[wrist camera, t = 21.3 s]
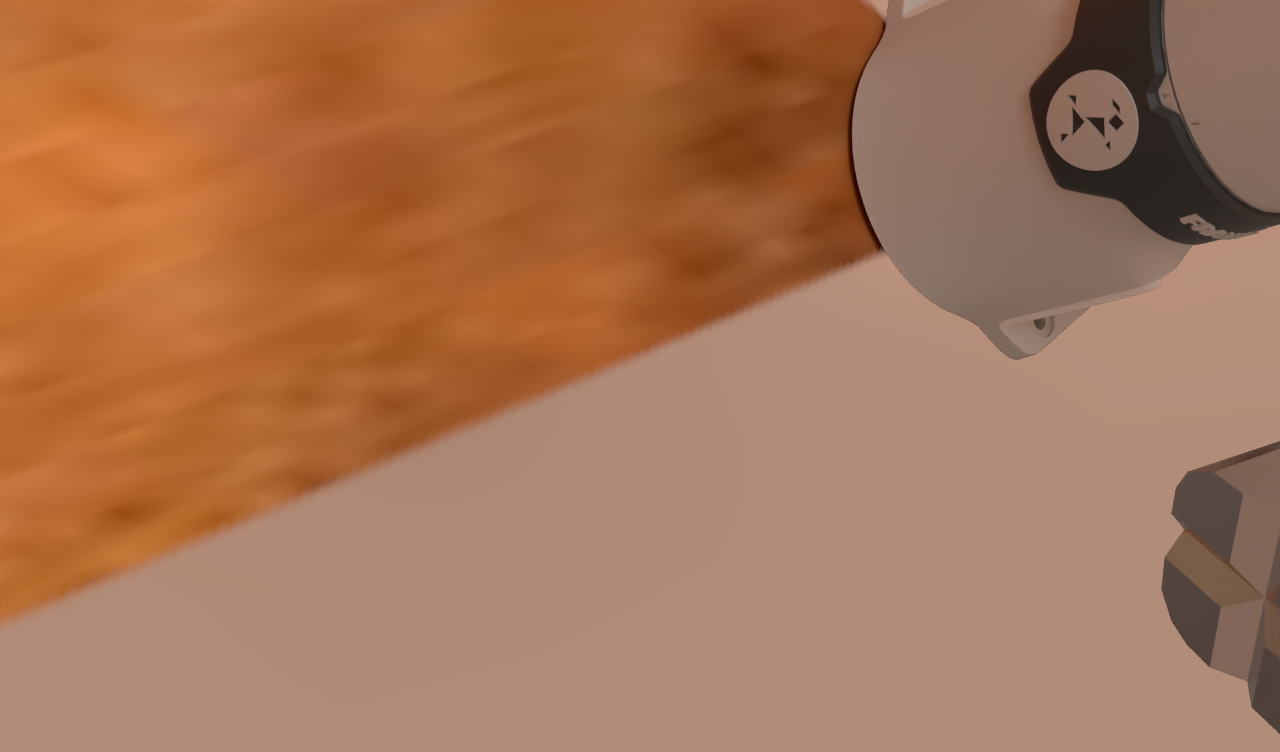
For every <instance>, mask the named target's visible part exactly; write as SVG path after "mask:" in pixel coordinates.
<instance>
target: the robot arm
mask: <svg viewBox="0 0 1280 752" xmlns="http://www.w3.org/2000/svg"><path fill="white" fill-rule="evenodd" d="M852 146H853V158H854V166H855V171H856V177H857V182H858V186H859V190H860V193H861V197H862V200H863V203H864V206H865V209H866V212H867V215H868V217H869V220H870V222H871V225H872V227H873V229H874V231H875V233H876V235H877V237H878V239H879V241H880V243H881V245H882V246H883V248H884V250H885V251H886V253H887V255H888V256H889V258H890V259H891V260H892V262H893V263H894V264H895V266H896V267H897V268H898V270H899V271H900V273H901V274H902V275H903V276H904V277H905V278H906V279H907V281H908V282H909V283H910V284H911V285H912V286H913V287H914V288H915V289H916V290H917V291H919V292H920V293H921V294H922V295H923V296H925V297H926V298H927V299H929V300H930V301H931V302H933V303H934V304H936V305H938V306H939V307H941V308H943V309H945V310H946V311H949V312H951V313H953V314H956V315H958V316H960V317H962V318H965V319H967V320H969V321H971V322H972V323H974V324H975V325H977V326H978V327H979V328H980V329H981V330H982V331H983V332H984V334H985V335H986V336H987V337H988V338H989V339H990V340H991V341H992V342H993V343H994V345H995V346H996V347H997V348H999V350H1000V351H1002V352H1003V353H1004V354H1005V355H1006V356H1008V357H1009V358H1012V359H1015V360H1017V359H1022V358H1025V357H1028V356H1032V355H1035V354H1037V353H1038V352H1040V351H1041V350H1042V349H1043V348H1044V347H1046V346H1047V345H1048V344H1049V343H1050V342H1051V341H1052V340H1053V339H1054V338H1056V337H1057V336H1058V335H1059V334H1060V333H1061V332H1062V331H1063V330H1065V329H1066V328H1067V327H1068V326H1069V325H1070V324H1071V323H1073V321H1075V320H1076V319H1077V318H1078V317H1079V316H1080V315H1082V313H1084V312H1085V311H1086V310H1087V309H1088V308H1089V307H1091V306H1093V305H1098V304H1102V303H1106V302H1110V301H1114V300H1118V299H1122V298H1127V297H1130V296H1135V295H1139V294H1142V293H1146V292H1149V291H1151V290H1154V289H1156V288H1158V287H1159V286H1160V284H1161V280H1162V277H1164V276H1166V275H1167V274H1169V273H1170V272H1171V271H1173V270H1174V269H1175V268H1176V267H1177V265H1178V264H1179V263H1180V262H1181V261H1182V259H1183V258H1184V256H1185V255H1186V254H1187V252H1188V251H1189V250H1190V248H1191V247H1192V246H1193V245H1198V244H1203V243H1208V242H1212V241H1216V240H1220V239H1223V240H1226V239H1227V240H1229V239H1236V238H1240V237H1244V236H1248V235H1252V234H1255V233H1258V231H1260V230H1264V229H1266V228H1268V227H1272V226H1275V225H1279V224H1280V0H889V3H888V10H887V19H886V28H885V31H884V34H883V37H882V39H881V41H880V43H879V44H878V46H877V48H876V49H875V51H874V53H873V54H872V56H871V58H870V59H869V61H868V63H867V65H866V67H865V69H864V72H863V74H862V77H861V80H860V83H859V86H858V90H857V94H856V98H855V104H854V110H853V121H852ZM1172 515H1173V516H1174V517H1175V519H1176V520H1177V521H1178V522H1179V524H1180V525H1181V526H1182V527H1183V528H1184V531H1183V532H1182V534H1181V535H1180V536H1179V538H1178V539H1177V541H1176V542H1175V544H1174V545H1173V546H1172V548H1171V549H1170V550H1169V552H1168V553H1167V555H1166V556H1165V560H1164V570H1163V580H1162V592H1163V595H1164V599H1165V601H1166V605H1167V608H1168V611H1169V615H1170V618H1171V621H1172V623H1173V624H1174V625H1175V627H1176V629H1177V630H1178V632H1179V633H1180V635H1181V636H1182V638H1183V639H1184V641H1185V642H1186V644H1187V645H1188V646H1189V647H1190V648H1191V649H1192V650H1193V651H1194V652H1195V653H1196V654H1197V655H1198V656H1199V657H1200V658H1201V659H1202V660H1203V661H1204V662H1205V663H1206V664H1207V665H1208V666H1209V667H1210V668H1213V669H1216V670H1218V671H1221V672H1224V673H1227V674H1229V675H1232V676H1235V677H1237V678H1240V679H1243V680H1246V681H1247V682H1248V688H1249V694H1250V700H1251V706H1252V708H1253V709H1254V710H1255V711H1256V712H1257V713H1258V714H1259V715H1260V716H1261V717H1262V718H1264V719H1265V720H1266V721H1267V722H1268V723H1269V724H1270V725H1271V726H1272V727H1273V728H1274V729H1275V730H1276V731H1277V732H1278V733H1279V734H1280V441H1279V442H1276V443H1273V444H1270V445H1267V446H1264V447H1261V448H1258V449H1256V450H1252V451H1249V452H1246V453H1243V454H1240V455H1237V456H1234V457H1231V458H1228V459H1225V460H1222V461H1219V462H1216V463H1213V464H1210V465H1207V466H1204V467H1201V468H1198V469H1195V470H1192V471H1189V472H1187V474H1186V475H1185V476H1184V478H1183V479H1182V480H1181V482H1180V483H1179V485H1178V486H1177V487H1176V490H1175V496H1174V502H1173V508H1172Z"/></svg>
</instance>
